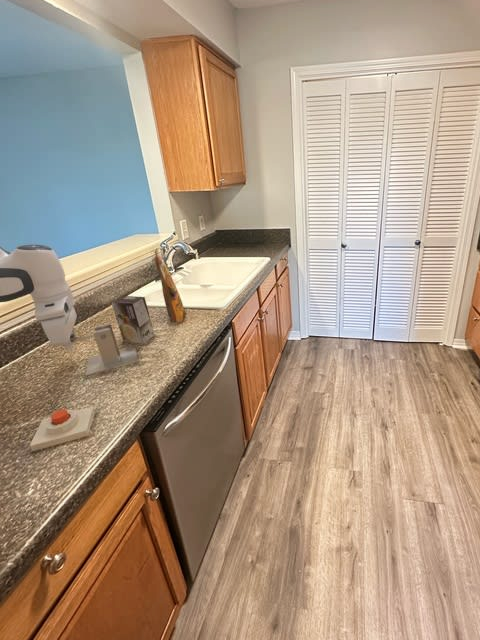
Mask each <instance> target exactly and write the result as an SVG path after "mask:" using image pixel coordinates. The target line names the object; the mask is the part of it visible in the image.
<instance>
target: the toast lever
mask: <svg viewBox="0 0 480 640" xmlns="http://www.w3.org/2000/svg"><path fill="white" fill-rule="evenodd" d="M104 329H108V327H107V328H102V329H98V331H99V330H104ZM90 339H95V337H94V334H93V333H88V334H84V335H80V336H76V337H75V338H74V337H73V336H70V341H71V342H72V343H73V344H74V343H78V342H81V341H85V340H90Z"/></svg>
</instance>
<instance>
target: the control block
mask: <svg viewBox="0 0 480 640" xmlns="http://www.w3.org/2000/svg"><path fill="white" fill-rule="evenodd" d="M66 410H67V412H68V414H69V419H68V420H67V421H65V422H63V423H62V424H58V425H55V424H53V422H52V419H51V416H50V417H46V418H42V419H41V421H40V423H39V425H38V427H37V429H36V431H35V433H34V435H33V437H32V440H31V442H30V444H29V448H30V450H31V452H35V451H39V450H42V449H45V448H50V447H53V446H56V445H60V444H64V443H68V442H71V441H74V440H79V439H82V438H85V437H89V435H90V431H91V428H92V424H93V421H94V417H95V413H96V409H95V407H94V406H89V407H86V408H82V409H78V410H77V409H76V410H74V409H66Z"/></svg>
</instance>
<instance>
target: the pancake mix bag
mask: <svg viewBox="0 0 480 640" xmlns="http://www.w3.org/2000/svg"><path fill="white" fill-rule="evenodd" d="M154 254H155V255H154V261H155V266H156V269H157V272H158V275H159V277H160V282H161V288H162V289H161V290H162V295H163V300H164V304H165V308H166V312H167V315H168V318H169V321H170V323H176V324H177V323H182V322H183V320H184V313H185V308H184V304H183V301H182V298H181V296H180V293H179V291H178V288H177V286H176V283H175V281H174V279H173V278H172V275H171V273H170V270H169V268H168V267H167V264H166V263H165V261H164V260H163V259H164V258H162V256H161V254H160V253H159V250H158V248H156V249H155V250H154Z"/></svg>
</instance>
